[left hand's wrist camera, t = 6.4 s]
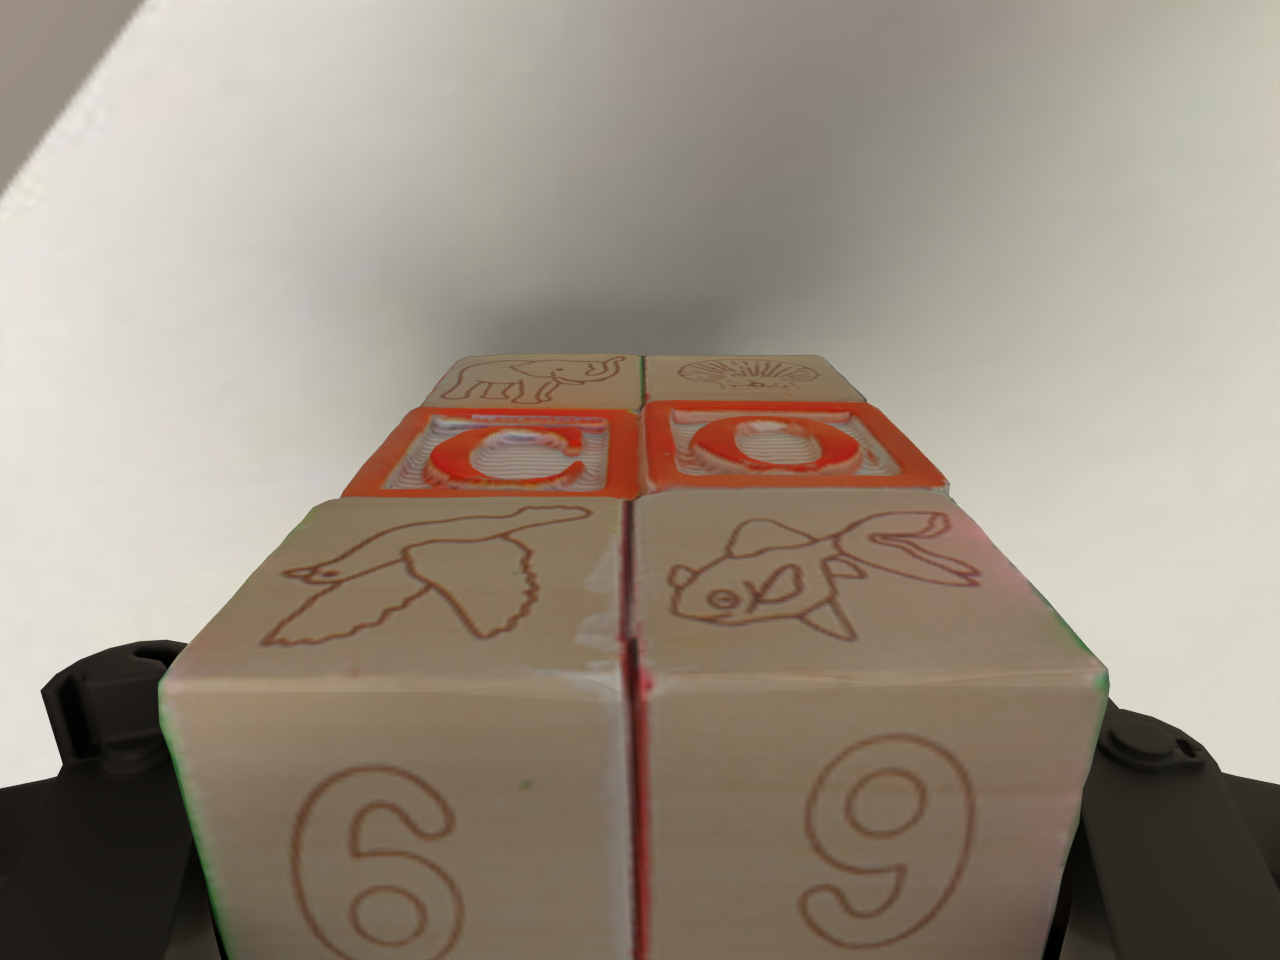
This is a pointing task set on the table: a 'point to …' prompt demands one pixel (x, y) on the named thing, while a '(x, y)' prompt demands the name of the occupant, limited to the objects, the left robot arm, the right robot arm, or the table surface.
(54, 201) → the table surface
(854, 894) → the stack of blocks
